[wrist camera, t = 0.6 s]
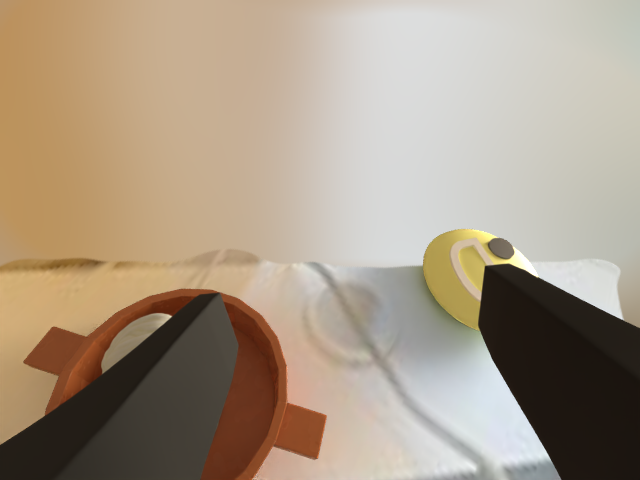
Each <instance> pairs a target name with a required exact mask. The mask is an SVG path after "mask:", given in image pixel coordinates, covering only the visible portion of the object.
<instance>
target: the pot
mask: <svg viewBox="0 0 640 480" xmlns="http://www.w3.org/2000/svg"><path fill="white" fill-rule="evenodd" d="M209 293H218V292H217V291H214V290H204V289H179V290H174V291H170V292H165V293H161V294H157V295H152V296H149V297H147V298H145V299H143V300H141V301H139V302H136V303H134V304H132V305H130V306H128V307H126V308H124V309H122V310H120V311H118V312H117V313H115V314H114V315H113V316H112V317H110V318H109V319H108V320H107V321H106V322H104V323H103V324H102V325H101V326H100V327H98V328H97V329H96V330H95V331H94V332H92V333H91V334H90V335H89V336H88V337H85V336H82V335H79V334H76V333H73V332H69V331H66V330H63V329H60V328H57V327H52V328H51V329H50V330H49V332H48V333H47V334H46V335H45V336H44V338H43V339H42V340H41V341H40V342H39V344H38V345H37V346H36V347H35V348H34V349H33V351H32V352H31V353H30V354H29V355H28V357H27V358H26V359H25V360H24V363H25V364H27V365H28V366H30V367H33V368H36V369H39V370H42V371H45V372H48V373H51V374H54V375H57V376H59V378H58V380H57V383H56V385H55V388H54V390H53V393H52V395H51V398H50V400H49V403H48V405H47V408H46V411H45V415H47V414H48V413H50V412H51V411H53V410H54V409H56V408H57V407H58V406H60V405H61V404H63V403H64V402H66V401H67V400H68V399H70V398H71V397H73V396H74V395H75V394H77V393H78V392H79V391H81V390H82V389H83V388H85V387H86V386H87V385H89V384H90V383H91V382H93V381H94V380H95V379H97V378H98V377H99V376H100V375H102V368H101V363H102V360H103V358H104V354H105V352H106V351H107V350H108V349H109V348H110V345H111V343H112V340H113V339H114V338H115V337H116V335H117V334H118V333H119V332H120V331H121V330H123V329H124V328H125V327H126V326H127V325H129V324H130V323H131V322H133V321H135V320H137V319H139V318H141V317H143V316H147V315H150V314H155V313H163V314H168V315H170V316H173V315H174V314H176V313H177V312H178V311H179V310H180V309H182V308H183V307H184V306H185V305H186V304H188V303H189V302H190V301H191V300H193V299H194V298H195V297H197V296H198V295H199V294H209ZM221 296H222V299H223V302H224V305H225V307H226V310H227V313H228V316H229V319H230V322H231V325H232V327H233V330H234V333H235V336H236V339H237V342H238V344H239V347H238V353H237V359H236V364H235V369H234V374H233V379H232V382H231V386H230V389H229V392H228V395H227V398H226V401H225V404H224V408H223V411H222V414H221V417H220V420H219V425H218V428H217V429H216V432H215V435H214V438H213V441H212V444H211V447H210V450H209V453H208V456H207V459H206V462H205V465H204V469H203V472H202V475H201V479H200V480H252V479H253V478H254V476H255V475H256V473H257V471H258V470H259V468H260V466H261V465H262V463H263V462H264V460H265V458H266V457H267V455H268V453H269V452H270V450H271V449H272V447H273V446H274V447H277V448H280V449H283V450H286V451H289V452H292V453H295V454H298V455H301V456H304V457H307V458H310V459H313V460H315V459H318V456H319V451H320V446H321V442H322V437H323V432H324V428H325V423H326V418H327V416H326V415H324V414H321V413H318V412H315V411H312V410H309V409H306V408H303V407H300V406H297V405H293V404H290V403H287V365H286V362H285V359H284V356H283V352H282V349H281V346H280V343H279V340H278V337H277V336H276V335H275V333H274V332H273V330H272V329H271V328H270V326H269V325H268V323H267V322H266V321H265V319H264V318H263V317H262V315H261V314H259V313H258V312H257V311H255V310H254V309H252V308H251V307H250V306H248V305H247V304H245V303H244V302H243V301H241V300H240V299H238V298H235V297H232V296H229V295H226V294H223V293H221Z"/></svg>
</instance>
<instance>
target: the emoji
mask: <svg viewBox="0 0 640 480" xmlns="http://www.w3.org/2000/svg"><path fill="white" fill-rule="evenodd" d="M507 263H510V264H512V265H514V266H516V267H519V268H521V269H523V270H525V271H527V272H529V273H531V274H533V275H535V276H537V277H538V275H537V273H536V272H535V270H534V268H533V267H532V265H531V264H530V263H529V262H528V260H527V259H526V258H525V257H524V256H523V255H522V254H521V253H520V252H519V251H518V250H516V249H515V248H514V247H513V246H512V245H511V244H510V243H509V242H508V241H506V240H504V239H502V238H497V237H495V236H493V235H490V234H488V233H485V232H482V231H478V230H472V229H458V230H453V231H449V232H446V233H443V234H441V235H439V236H438V237H436V238H435V239H434V240H433V241H432V242H431V243H430V244H429V245H428V247H427V249H426V251H425V254H424V260H423V271H424V277H425V280H426V283H427V285H428V287H429V290H430V291H431V293H432V295H433V296H434V298H435V299H436V300H437V302H438V303H439V304H440V305H441V306H442V307H443V308H444V309H445V310H446V311H447V312H448V313H449V314H450V315H451V316H453V317H454V318H455V319H457V320H458V321H459V322H461V323H463V324H464V325H466V326H468V327H471V328H473V329H475V330H478V331H480V329H479V327H478V319H479V310H480V302H481V293H482V285H483V276H484V268H485V266H487V265H497V264H507Z"/></svg>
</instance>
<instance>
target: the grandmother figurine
mask: <svg viewBox="0 0 640 480" xmlns="http://www.w3.org/2000/svg"><path fill="white" fill-rule="evenodd" d="M171 317H172V316H170V315H168V314H163V313H155V314H150V315H147V316H143V317H141V318H139V319H137V320H135V321H133V322H131V323H130V324H129V325H127V326H126V327H125V328H124V329H123V330H121V331H120V332H119V333H118V334H117V335H116V337H115V338H114V339H113V340H112V343H111V345H110V348H109V349H108V350H107V351H106V352H105V354H104V358H103V360H102V363H101V368H102V374H103V373H104V372H105V371H107V370H108V369H109V368H110V367H112V366H113V365H114V364H116V363H117V362H118V361H119V360H121V359H122V358H123V357H124V356H126V355H127V354H128V353H129V352H131V351H132V350H133V349H134V348H136V347H137V346H138V345H139V344H140V343H142V342H143V341H144V340H145V339H146V338H147V337H149V336H150V335H151V334H152V333H153V332H155V331H156V330H157V329H158V328H159V327H160V326H162V325H163V324H164V323H165V322H166V321H167V320H169V319H170V318H171ZM218 425H219V423H218ZM217 428H218V426H217Z"/></svg>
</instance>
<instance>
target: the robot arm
mask: <svg viewBox="0 0 640 480" xmlns="http://www.w3.org/2000/svg"><path fill="white" fill-rule="evenodd" d="M478 327H479V329H480V332H481V334H482V336H483V339H484V341H485V344H486V346H487V348H488V350H489V353H490V355H491V357H492V359H493V361H494V363H495V365H496V367H497V368H498V370H499V372H500V373H501V375H502V377H503V379H504V380H505V382H506V384H507V385H508V387H509V389H510V391H511V392H512V394H513V396H514V397H515V399H516V401H517V402H518V404H519V406H520V407H521V409H522V411H523V412H524V414H525V416H526V418H527V419H528V421H529V423H530V424H531V426H532V428H533V429H534V431H535V433H536V434H537V436H538V438H539V439H540V441H541V443H542V444H543V446H544V448H545V450H546V451H547V453H548V455H549V457H550V459H551V461H552V462H553V464H554V466H555V468H556V470H557V472H558V474H559V476H560V478H561V480H640V328H638V327H636V326H634V325H632V324H630V323H627V322H625V321H623V320H621V319H619V318H617V317H615V316H613V315H611V314H609V313H607V312H605V311H603V310H601V309H599V308H597V307H595V306H593V305H591V304H589V303H587V302H585V301H583V300H581V299H579V298H577V297H575V296H573V295H571V294H569V293H567V292H565V291H564V290H562V289H560V288H558V287H556V286H554V285H552V284H550V283H548V282H546V281H544V280H542V279H541V278H539V277H537V276H535V275H533V274H531V273H529V272H527V271H525V270H523V269H521V268H519V267H516V266H514V265H512V264H510V263H507V264H497V265H487V266H485V268H484V276H483V285H482V293H481V302H480V310H479V319H478ZM238 347H239V344H238V342H237V339H236V336H235V333H234V330H233V327H232V325H231V322H230V319H229V316H228V313H227V310H226V307H225V305H224V302H223V299H222V296H221V293H220V292H218V293H209V294H199V295H198V296H197V297H195V298H194V299H193V300H191V301H190V302H189V303H188V304H186V305H185V306H184V307H183V308H182V309H180V310H179V311H178V312H177V313H176V314H174V315H173V316H172V317H171V318H170V319H169V320H167V321H166V322H165V323H164V324H163V325H162V326H160V327H159V328H158V329H157V330H156V331H155V332H153V333H152V334H151V335H150V336H149V337H147V338H146V339H145V340H144V341H143V342H142V343H140V344H139V345H138V346H137V347H136V348H134V349H133V350H132V351H131V352H129V353H128V354H127V355H126V356H124V357H123V358H122V359H121V360H119V361H118V362H117V363H116V364H114V365H113V366H112V367H110V368H109V369H108V370H107V371H105V372H104V373H103V374H102V375H100V376H99V377H98V378H97V379H95V380H94V381H93V382H91V383H90V384H89V385H87V386H86V387H85V388H83V389H82V390H81V391H79V392H78V393H77V394H75V395H74V396H73V397H71V398H70V399H68V400H67V401H66V402H64V403H63V404H61V405H60V406H58V407H57V408H56V409H54V410H53V411H51V412H50V413H48V414H47V415H45V416H44V417H43V418H41V419H40V420H38V421H37V422H35V423H34V424H32V425H31V426H29V427H28V428H26V429H25V430H23V431H22V432H20V433H18V434H17V435H15V436H14V437H12V438H11V439H9V440H7V441H6V442H4V443H3V444H1V445H0V480H200V479H201V475H202V472H203V469H204V465H205V462H206V459H207V456H208V453H209V450H210V447H211V444H212V441H213V438H214V435H215V432H216V429H217V426H218V423H219V420H220V417H221V414H222V411H223V408H224V404H225V401H226V398H227V395H228V392H229V389H230V386H231V382H232V379H233V374H234V369H235V364H236V359H237V353H238Z"/></svg>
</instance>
